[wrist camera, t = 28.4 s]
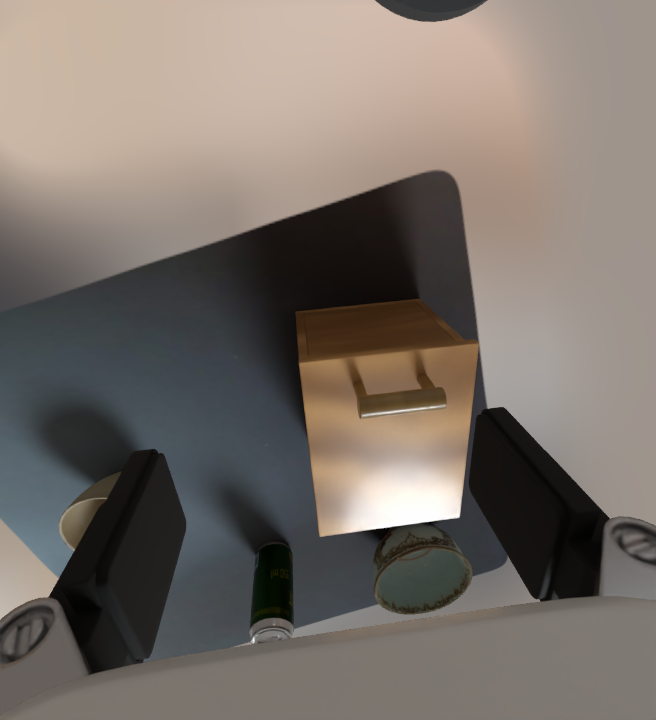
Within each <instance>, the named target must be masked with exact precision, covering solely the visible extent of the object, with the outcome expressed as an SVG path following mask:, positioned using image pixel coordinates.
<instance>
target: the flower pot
mask: <svg viewBox="0 0 656 720" xmlns="http://www.w3.org/2000/svg"><path fill="white" fill-rule="evenodd" d="M121 472H122V471H120V472H117V473H115V474H112V475H110V476H108V477H105V478H104V479H102V480H100V481H98V482H97V483H95V484H94V485H92V486H91V487H89V488H88V489H87V490H86V491H84V492H83V493H82V494H81V495H80V496H79V497H78V498H77V499H75V500H74V501H73V503H72V504H71V505H70V506H69V507H68V508H67V509H66V510H65V512H64V513H63V514H62V516H61V518H60V521H59V533H60V536H61V538H62V539H63V541H64V542H65V543H66V545H67V546H69V547H70V548H71V549H72V550H73V551H75V549H76V547H77V546H78V544H79V542H80V540H81V538H82V537H83V535H84V533H85V531H86V529H87V528H88V526H89V524H90V522H91V521H92V519H93V517H94V515H95V513H96V512H97V510H98V508H99V507H100V506H101V505H102V504H103V503H105V501H106V499H107V498H108V496H109V494H110V492H111V490H112V489H113V487H114V485H115V483H116V481H117V479H118V478H119V476H120V474H121Z"/></svg>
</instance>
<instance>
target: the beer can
mask: <svg viewBox="0 0 656 720" xmlns="http://www.w3.org/2000/svg"><path fill="white" fill-rule="evenodd" d="M293 631H294V610H293V557H292V552H291V550H290V548H289V546H288V545H287V544H285V543H283V542H280V541H270V542H267V543H265V544H263V545H262V546H261V547H260V548H259V550H258V551H257V553H256V557H255V569H254V582H253V595H252V607H251V620H250V636H251V644H252V645H253V644H259V643H265V642H272V641H278V640H284V639H291V638H292V634H293Z"/></svg>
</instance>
